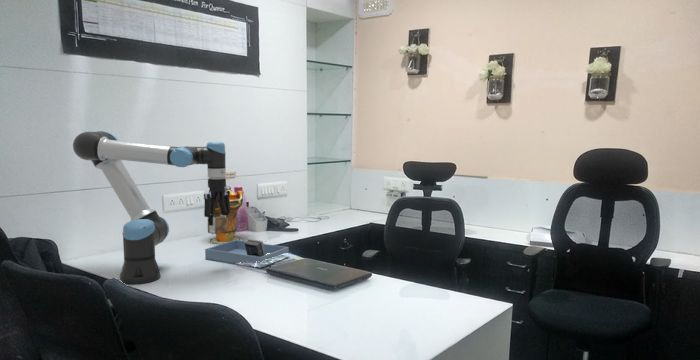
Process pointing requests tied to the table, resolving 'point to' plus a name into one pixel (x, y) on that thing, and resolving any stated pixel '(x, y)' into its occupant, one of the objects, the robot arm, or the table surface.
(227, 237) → the decorative vase
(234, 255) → the tray
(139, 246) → the robot arm
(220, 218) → the walnut cube
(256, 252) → the electrical switch
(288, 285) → the table surface
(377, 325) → the table surface
